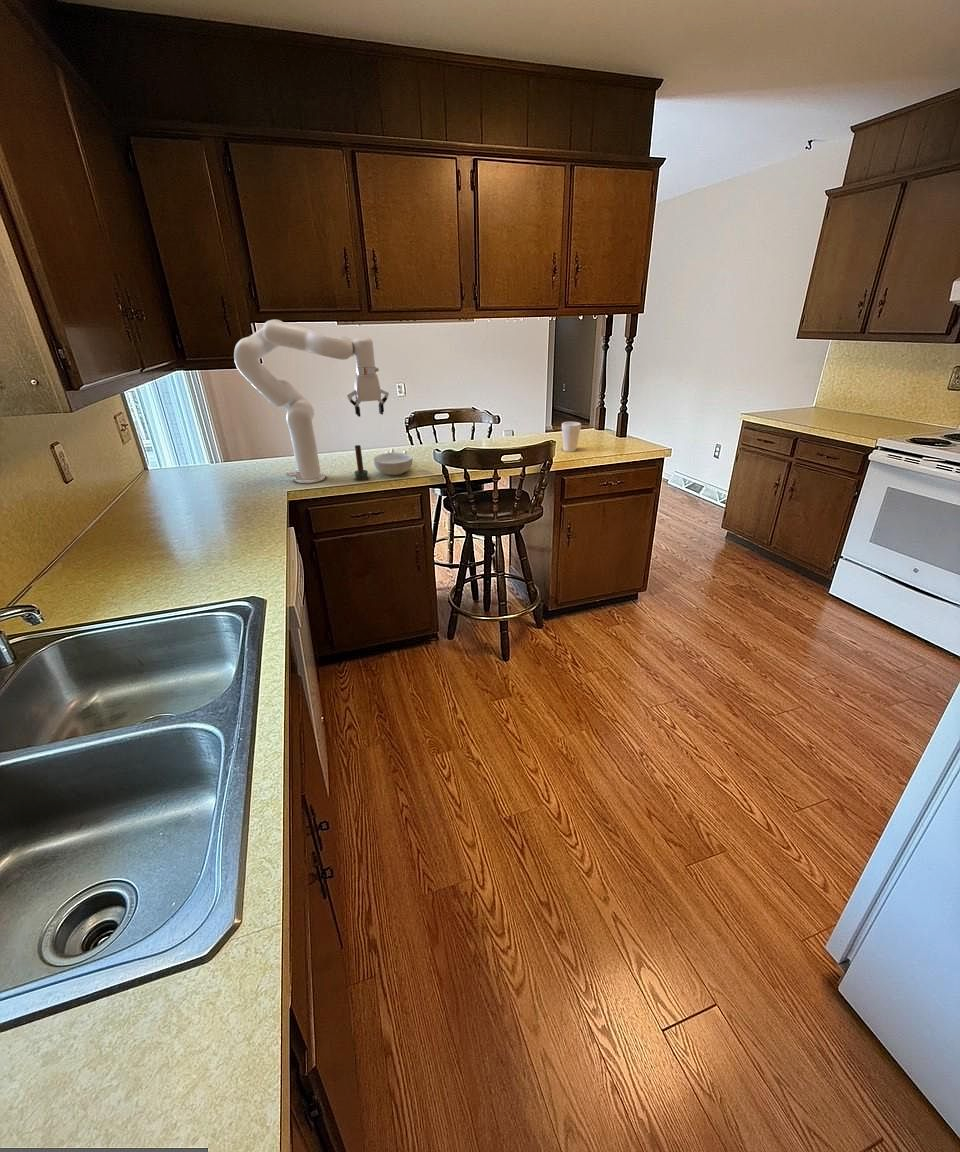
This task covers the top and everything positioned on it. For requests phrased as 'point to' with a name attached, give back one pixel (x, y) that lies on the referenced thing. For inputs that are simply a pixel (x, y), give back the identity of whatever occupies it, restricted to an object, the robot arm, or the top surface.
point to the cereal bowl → (393, 463)
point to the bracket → (394, 452)
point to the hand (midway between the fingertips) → (370, 415)
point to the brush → (360, 465)
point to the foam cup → (570, 435)
